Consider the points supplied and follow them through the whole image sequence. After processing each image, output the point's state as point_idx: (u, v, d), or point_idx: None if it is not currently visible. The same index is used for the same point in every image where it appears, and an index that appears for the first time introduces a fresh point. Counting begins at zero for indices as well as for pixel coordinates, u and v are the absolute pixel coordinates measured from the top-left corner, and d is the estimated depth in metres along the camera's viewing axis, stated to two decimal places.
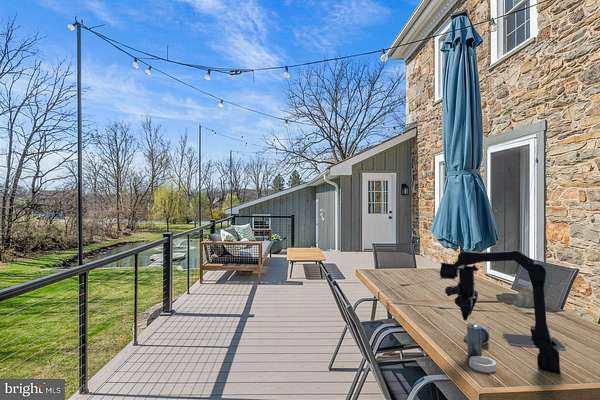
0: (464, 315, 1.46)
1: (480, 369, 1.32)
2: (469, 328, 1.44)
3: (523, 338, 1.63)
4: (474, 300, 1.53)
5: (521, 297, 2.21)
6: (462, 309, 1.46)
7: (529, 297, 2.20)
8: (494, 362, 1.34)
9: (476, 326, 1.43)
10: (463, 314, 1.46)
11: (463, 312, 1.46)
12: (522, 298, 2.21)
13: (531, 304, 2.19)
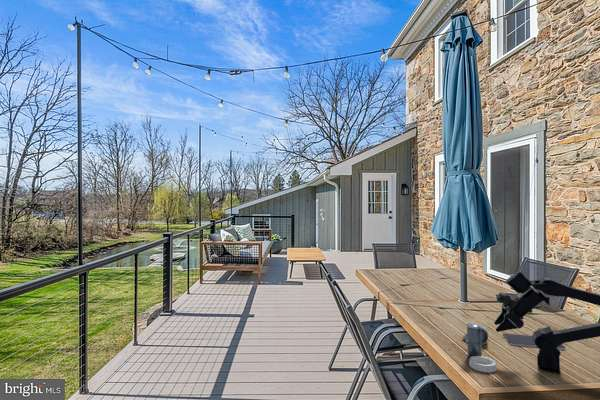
0: (500, 327, 1.36)
1: (480, 369, 1.32)
2: (469, 328, 1.44)
3: (523, 338, 1.63)
4: None
5: None
6: (504, 322, 1.35)
7: None
8: (494, 362, 1.34)
9: (476, 326, 1.43)
10: (500, 326, 1.36)
11: (502, 325, 1.36)
12: None
13: None
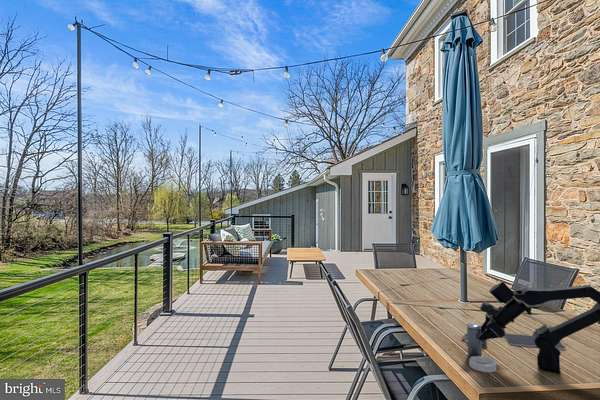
0: (483, 336, 1.39)
1: (480, 369, 1.32)
2: (469, 328, 1.44)
3: (523, 338, 1.63)
4: None
5: None
6: (487, 332, 1.38)
7: None
8: (494, 362, 1.34)
9: (476, 326, 1.43)
10: (483, 335, 1.38)
11: (484, 334, 1.38)
12: None
13: None
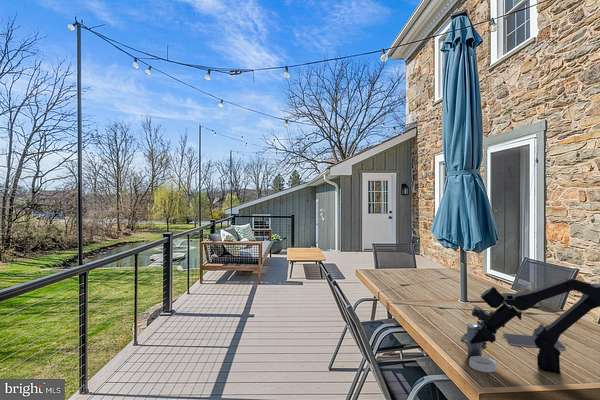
0: (474, 340, 1.41)
1: (480, 369, 1.32)
2: (469, 328, 1.44)
3: (523, 338, 1.63)
4: None
5: None
6: (478, 335, 1.40)
7: None
8: (494, 362, 1.34)
9: (476, 326, 1.43)
10: (474, 339, 1.41)
11: (475, 337, 1.41)
12: None
13: None
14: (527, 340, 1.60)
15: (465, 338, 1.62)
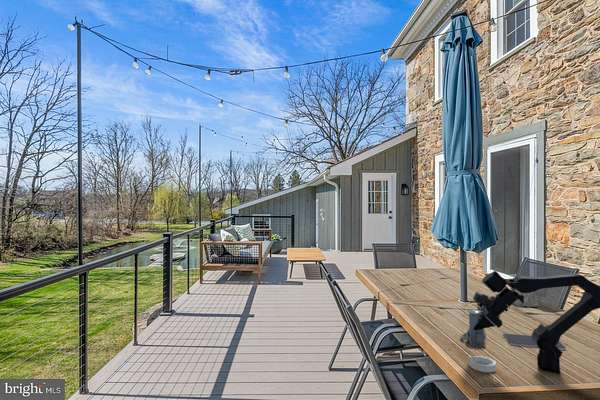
0: (478, 326, 1.38)
1: (480, 369, 1.32)
2: (472, 314, 1.40)
3: (523, 338, 1.63)
4: None
5: None
6: (482, 321, 1.37)
7: (527, 297, 2.21)
8: (494, 362, 1.34)
9: (479, 312, 1.40)
10: (478, 325, 1.38)
11: (479, 324, 1.37)
12: None
13: (529, 304, 2.20)
14: (527, 340, 1.60)
15: (464, 338, 1.62)
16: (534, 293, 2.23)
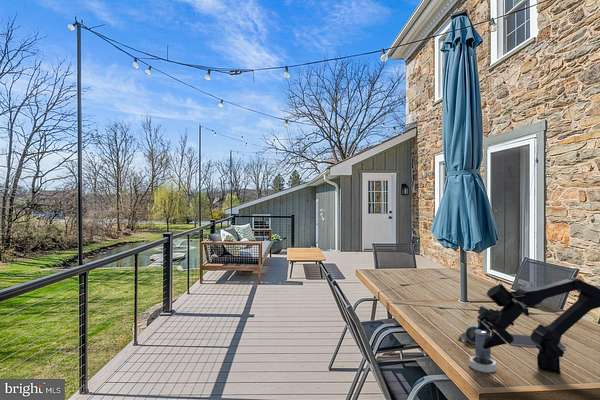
0: (488, 344, 1.31)
1: (480, 369, 1.32)
2: (480, 335, 1.34)
3: (523, 338, 1.63)
4: None
5: None
6: (492, 339, 1.30)
7: None
8: (494, 362, 1.34)
9: (486, 332, 1.35)
10: (488, 343, 1.30)
11: (490, 342, 1.30)
12: None
13: None
14: (527, 340, 1.60)
15: (462, 338, 1.63)
16: None
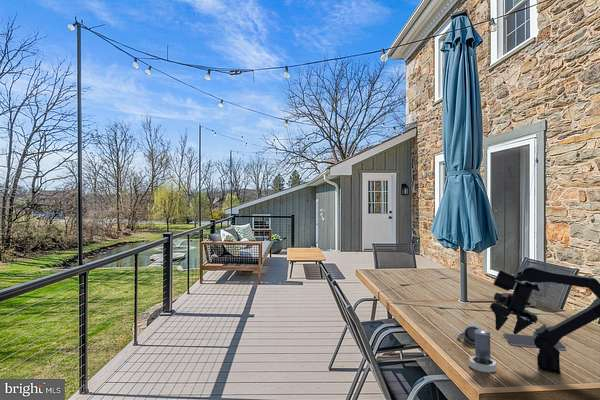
0: (497, 324, 1.39)
1: (480, 369, 1.32)
2: (480, 335, 1.34)
3: (523, 338, 1.63)
4: (526, 322, 1.39)
5: None
6: (497, 317, 1.39)
7: None
8: (494, 362, 1.34)
9: (486, 332, 1.35)
10: (496, 323, 1.39)
11: (496, 321, 1.39)
12: None
13: None
14: (527, 340, 1.60)
15: (461, 337, 1.63)
16: (532, 293, 2.24)
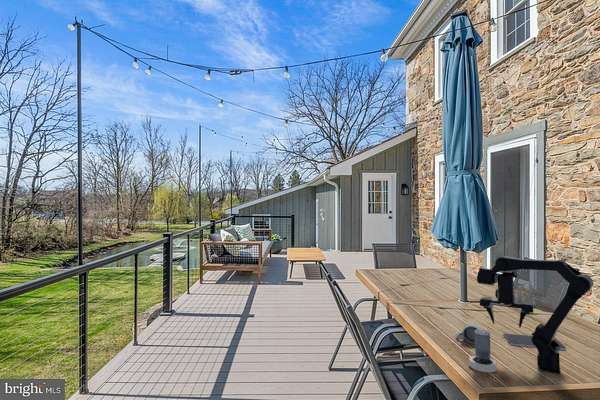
0: None
1: (480, 369, 1.32)
2: (480, 335, 1.34)
3: (523, 338, 1.63)
4: (520, 313, 1.40)
5: (517, 296, 2.23)
6: None
7: (525, 296, 2.22)
8: (494, 362, 1.34)
9: (486, 332, 1.35)
10: None
11: None
12: (518, 297, 2.23)
13: None
14: (527, 340, 1.60)
15: (460, 337, 1.63)
16: (532, 293, 2.24)
